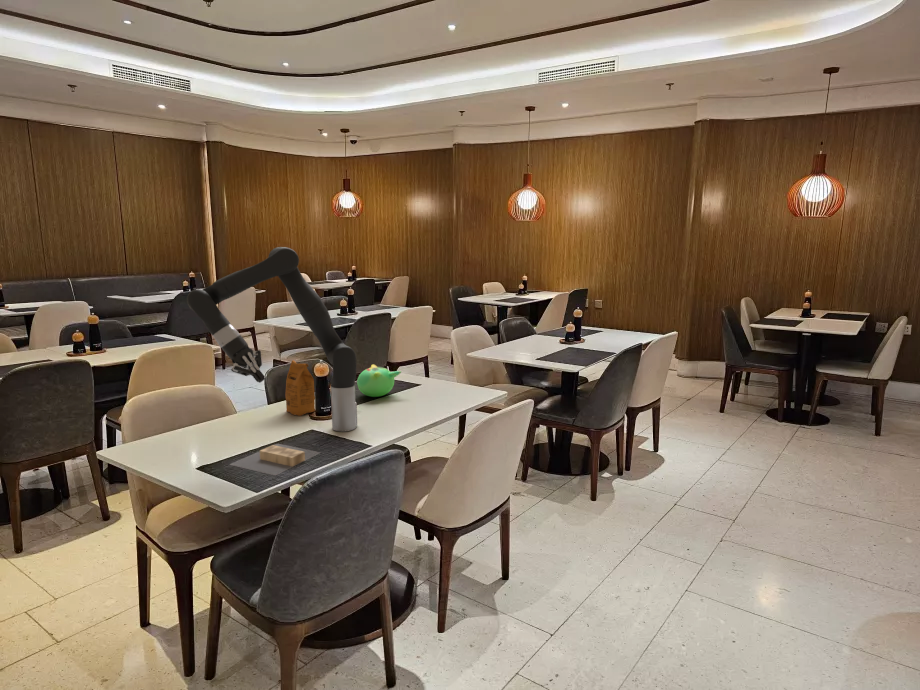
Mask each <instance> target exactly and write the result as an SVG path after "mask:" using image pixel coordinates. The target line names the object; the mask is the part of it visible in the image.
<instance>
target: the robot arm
mask: <svg viewBox="0 0 920 690" xmlns="http://www.w3.org/2000/svg"><path fill="white" fill-rule="evenodd" d="M299 263H300V257H299V255H298V253H297V252H296V251H295V250H294V249H292V248H290V247H286V246H278V247H275V248H273V249H271V251H270V252H269V253H268V257H267V258H265V259H264V260H262V261H260V262H258V263H256V264H254V265H252V266H249V267H246V268H243V269H240V270H237V271H234V272H233V273H230V274H228V275H226V276H223V277H221V278H219V279H217V280H216V281H214V282H213V283H211V284H210V285H209V286H207V287H204V288H203V289H202V288H201V289H199V288H197V289H196V288H195V289H192V290H191V291H190V292H189V293H188V295H187V297H186V302H187V306H188V307H189V309H190V310H191V311H192V312H194V313H195V314H196V315H197V317H199V319H200V320H201V321H202V323H203V325H204V326H205V328H206V330H207V331H208V332H209V333H210V334H211V335H212V337H213V339H214V340H215V342H216V343H217V345H218V346H219V347H220V349H221V350H222V351H223V352H224V353H225V354H226V355H227V357H228V358H230V359H231V363H232V365H233V366H232V368H230V371H231V372H233V373H235V374H238V375H242V376H246V377H248V376H252V378H253V379H254V380H255V382H257V383H262V382H263V381H265V379H266V378H265V375H264V374H263V372H262V371H261V370H260V369H261V366H263V363H262V362H263V361H262V352H261V350H253V348H250V347H249V344H248V342H247V341H246V340H245V339H244V337H243V335H242V334H241V333H239V330H237V329H236V328H235V326H234V325H233V324H231V322H230V321H229V320H228V319H227V317H226V316H225V315H224V313H223V312H222V311H221V310H220V309H219V307H218V306H217V305H219V304H220V303H222V302H223V301H225V300H228V299H231V298H232V297H234V296H237V295H239V294H240V293H242V292H244V291H246V290H249V289H251V288H252V287H254V286H256V285H258V284H260V283H262V282H266V281H268V280H270V279H272V278H275V277H278V278H279V281H281V283H282V284H283V285H284V286H285V288H286V290H287V292H288V294H289V295H290V296H289V297H290V298H291V299H292V302H293V303H294V305H295V307H296V309H297V311H298V312H299V313H300V316H301V318H302V319H303V320H304V322H305V323H306V325H307V326H308V328H309V329H310V330H311V332H312V333H313V335H314V336H315V337H316V338H317V339H318V342H319V344H320V346H321V348H322V351H323V352H324V354H325V356H326V358H327V361H328V362H329V363H330V364H331V365H332V377H331V378H330V402H331V428H332V430H334V431H336V432H350V431H353V430H355V429H356V428H357V427H358V404H357V403H358V402H356V379H357V354H356V352H355V350H354V349H353V348H352V347H351V346H349V345H347V344H345V343H344V342H343V340H342V338H340V336H339V335H338V333H337V332H336V329H335V327H334V325H333V321H332V318H331V315H330V312H329V310H328V308H327V307H326V305H325V302H323V300H322V298H321V297H320V295H319V294H318V293H317V291H316V290H315V289H314V288H313V287H312V286H311V285H310V284H309V282H307V280H306V279H305V278H304V277H303V275H302V273H301V271H300V270H299V267H298V266H299Z"/></svg>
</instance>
